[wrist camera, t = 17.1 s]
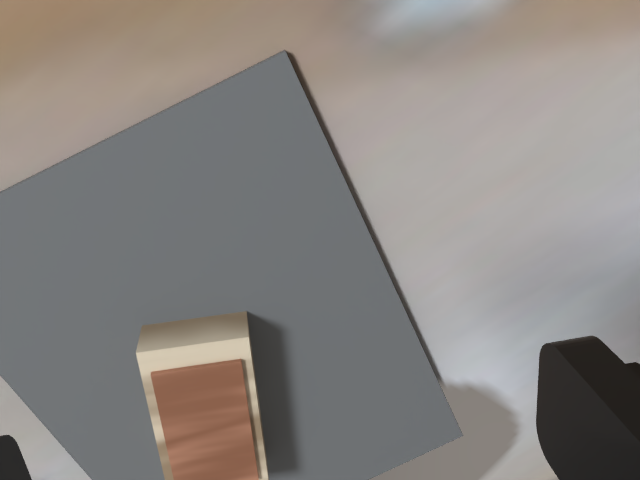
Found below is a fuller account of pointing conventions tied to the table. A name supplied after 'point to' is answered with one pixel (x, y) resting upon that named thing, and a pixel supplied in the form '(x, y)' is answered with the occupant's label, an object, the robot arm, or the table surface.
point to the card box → (203, 398)
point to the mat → (213, 287)
